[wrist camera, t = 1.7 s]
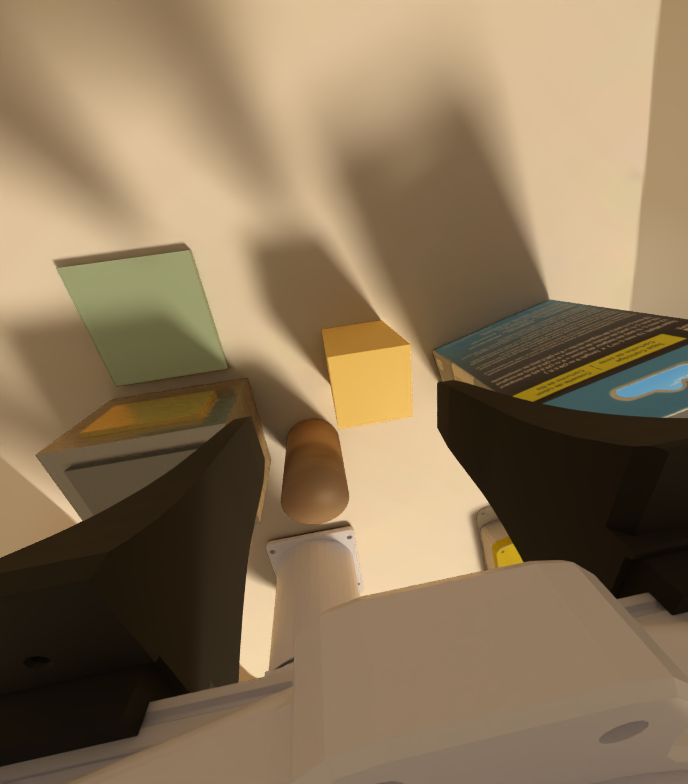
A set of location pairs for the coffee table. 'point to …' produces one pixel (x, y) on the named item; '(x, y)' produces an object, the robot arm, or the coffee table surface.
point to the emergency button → (495, 541)
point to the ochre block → (368, 373)
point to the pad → (147, 316)
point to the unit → (143, 442)
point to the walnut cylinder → (314, 474)
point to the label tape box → (578, 359)
